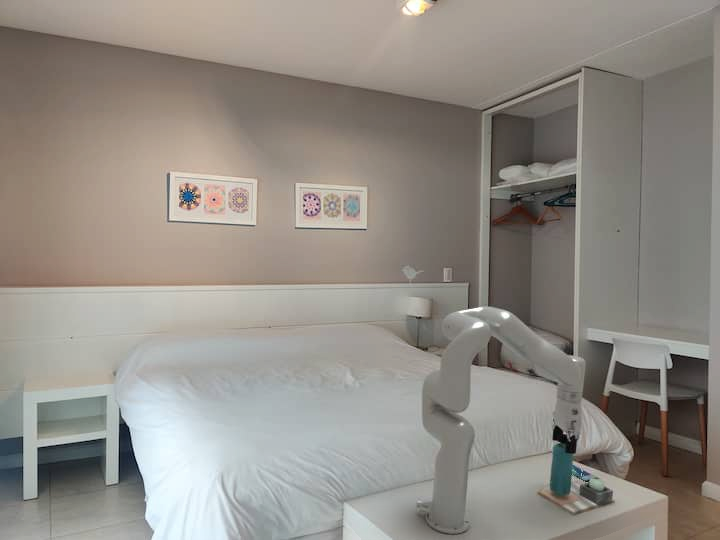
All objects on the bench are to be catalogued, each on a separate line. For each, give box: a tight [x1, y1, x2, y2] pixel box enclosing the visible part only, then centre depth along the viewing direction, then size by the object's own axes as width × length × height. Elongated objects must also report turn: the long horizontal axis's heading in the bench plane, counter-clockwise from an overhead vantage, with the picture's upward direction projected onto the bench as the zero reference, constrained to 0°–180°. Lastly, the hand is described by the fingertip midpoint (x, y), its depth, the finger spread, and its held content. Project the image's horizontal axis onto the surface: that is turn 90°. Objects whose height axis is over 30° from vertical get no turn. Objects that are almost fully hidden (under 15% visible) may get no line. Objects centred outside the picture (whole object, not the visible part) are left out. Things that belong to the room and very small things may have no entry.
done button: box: [589, 478, 605, 493], centre depth 167 cm, size 4×4×3 cm
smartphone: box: [572, 464, 600, 483], centre depth 187 cm, size 7×1×15 cm
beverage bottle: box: [549, 433, 574, 495], centre depth 167 cm, size 6×7×20 cm
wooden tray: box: [537, 480, 616, 516], centre depth 168 cm, size 20×14×4 cm
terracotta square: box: [538, 487, 581, 506], centre depth 167 cm, size 9×9×1 cm
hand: (563, 446), depth 166 cm, fingers open, 9 cm apart
